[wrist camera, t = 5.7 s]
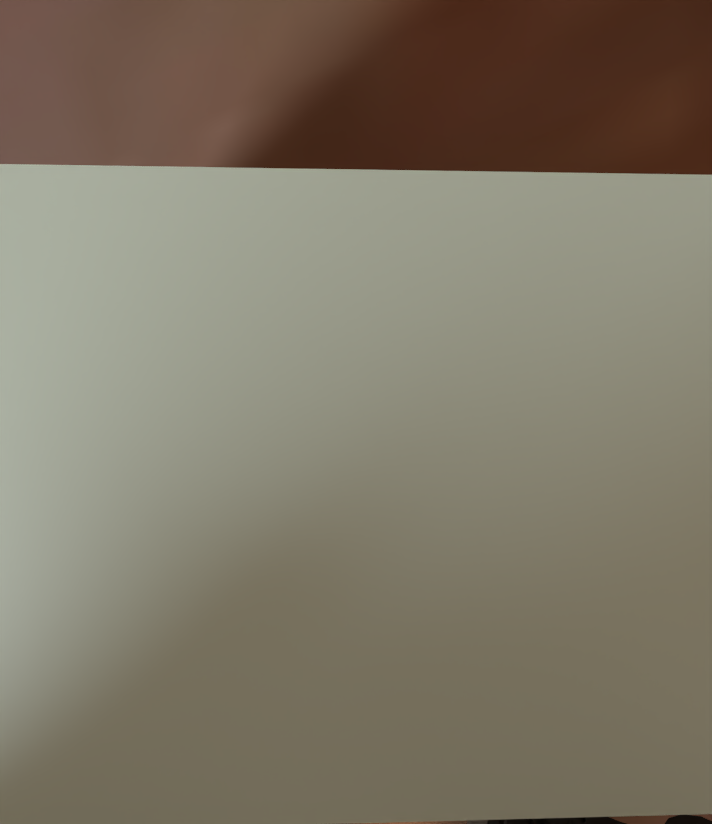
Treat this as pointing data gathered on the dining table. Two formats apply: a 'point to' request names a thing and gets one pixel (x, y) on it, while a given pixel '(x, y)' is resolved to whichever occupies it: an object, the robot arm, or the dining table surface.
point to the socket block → (354, 495)
